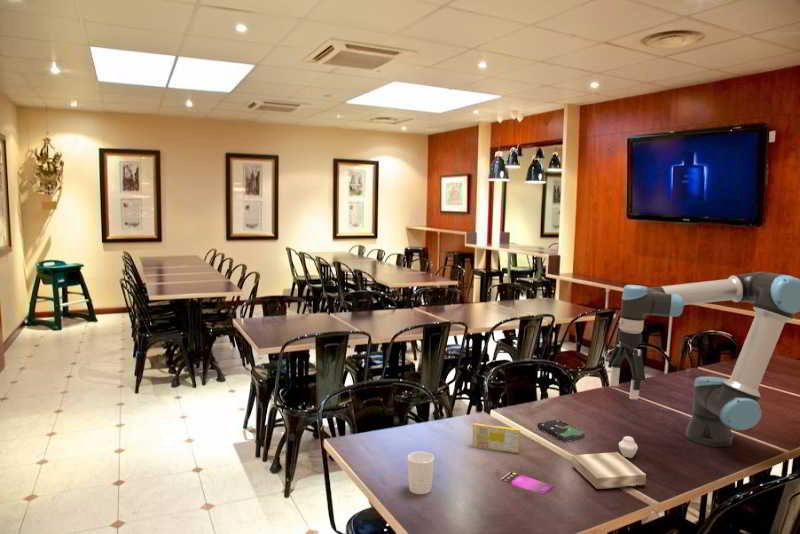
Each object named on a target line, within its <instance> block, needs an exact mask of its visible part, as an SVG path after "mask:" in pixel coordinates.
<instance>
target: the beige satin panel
mask: <svg viewBox="0 0 800 534" xmlns="http://www.w3.org/2000/svg"><path fill="white" fill-rule="evenodd" d="M571 466H573V468H574V469H576V471H577V472H578V473H580V474H581V475H582V476H583V477H584V478H585V479H586V480H587V481H589V483H590V484H592V485H593V487H594V488H595V489H597V490H603V489H615V488H617V489H618V488H627V487H626V486H631V487H640V486H645V485H646V482H647V481H646V479H647V474H646V473H644V472H643V471H642V470H641V469H640V468H638V466H636V465H635V464H634V463H632V462H630V461H629V460H628V458H626V457H624V456H623V455H622V454H620V453H619V452H618V451H615V452H600V453H585V454H572V455H571ZM636 485H638V486H636ZM639 485H640V486H639Z"/></svg>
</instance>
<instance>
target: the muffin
mask: <svg viewBox="0 0 800 534" xmlns="http://www.w3.org/2000/svg"><path fill="white" fill-rule="evenodd" d="M618 447H619V450H620V453H621V455H622V456H623V457H624V458H626V457H628V458H627V459H632V458H633V457H634V456H635V455H636V453H637V450H639V449H638V448H639V447H638V445H637V443H636V442H635V439H634V438H633V437H632V436H629V435H626V436H623V437H622V440H621V441H619V443H618Z"/></svg>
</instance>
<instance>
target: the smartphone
mask: <svg viewBox="0 0 800 534" xmlns="http://www.w3.org/2000/svg"><path fill="white" fill-rule="evenodd" d="M499 479H500V480H499V481H503V482H505V483H508V484H510V485H513V486H515V487H516V486H517V487H518V488H519V487H520V488H522V489H525V490H527V491H530V490H531V491H530V492H533V491H534V492H533V493H536V492H537V493H536V494H539V495H541V494H542V495H541V496H545V495H546V494H547V493H548V492H549V491H550V490H552V489H553V488H554V485H553V484H549V483H546V482H544V481H540V480H537V479H534V478H531V477H529V476H525V475H523V474H522V475H521V474H519V473H517V472H513V471H508V472H507V473H505V474H504V475H502V476H501V477H500V478H499ZM551 488H552V489H551Z"/></svg>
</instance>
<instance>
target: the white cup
mask: <svg viewBox="0 0 800 534" xmlns="http://www.w3.org/2000/svg"><path fill="white" fill-rule="evenodd" d="M406 459H407V461H406V462H407V480H408V481H407V482H408V491H409V492H411V493H412V494H415V495H426V494H428V493H430V492H431V491H432V489H433V488H432V487H433V486H432V485H433V478H434V476H433V475H434V465H435V463H434V462H435V457H434V455H433V454H432V453H429V452H427V451H413V452H411V453H409V454H408V455H407V457H406Z"/></svg>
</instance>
